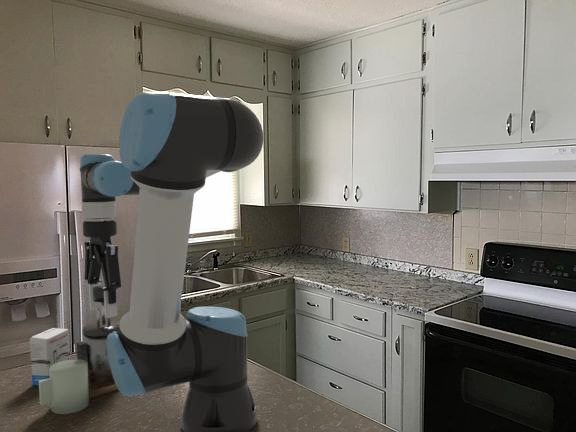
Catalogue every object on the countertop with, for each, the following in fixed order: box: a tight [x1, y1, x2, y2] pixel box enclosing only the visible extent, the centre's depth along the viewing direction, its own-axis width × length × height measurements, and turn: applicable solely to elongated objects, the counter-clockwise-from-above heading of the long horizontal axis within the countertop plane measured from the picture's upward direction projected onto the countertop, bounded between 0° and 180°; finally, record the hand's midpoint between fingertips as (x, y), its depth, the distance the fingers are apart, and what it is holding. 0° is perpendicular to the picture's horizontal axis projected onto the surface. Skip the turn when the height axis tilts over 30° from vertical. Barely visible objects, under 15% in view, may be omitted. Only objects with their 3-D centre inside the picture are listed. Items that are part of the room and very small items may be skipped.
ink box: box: [29, 327, 71, 387], centre depth 121 cm, size 9×5×12 cm, turn 168°
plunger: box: [93, 285, 107, 325], centre depth 119 cm, size 4×4×9 cm
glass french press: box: [76, 308, 120, 399], centre depth 119 cm, size 13×13×18 cm
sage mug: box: [38, 358, 90, 415], centre depth 106 cm, size 8×10×9 cm
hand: (103, 313), depth 119 cm, fingers open, 8 cm apart
